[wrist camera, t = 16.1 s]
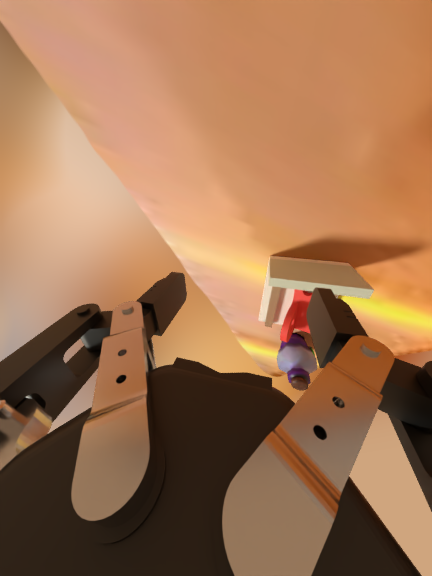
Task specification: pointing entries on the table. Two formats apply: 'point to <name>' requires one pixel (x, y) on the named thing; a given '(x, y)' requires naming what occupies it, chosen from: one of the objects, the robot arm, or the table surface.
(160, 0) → the table surface
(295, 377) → the potion bottle
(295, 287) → the cleat board
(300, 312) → the bracket
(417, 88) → the table surface
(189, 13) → the table surface
